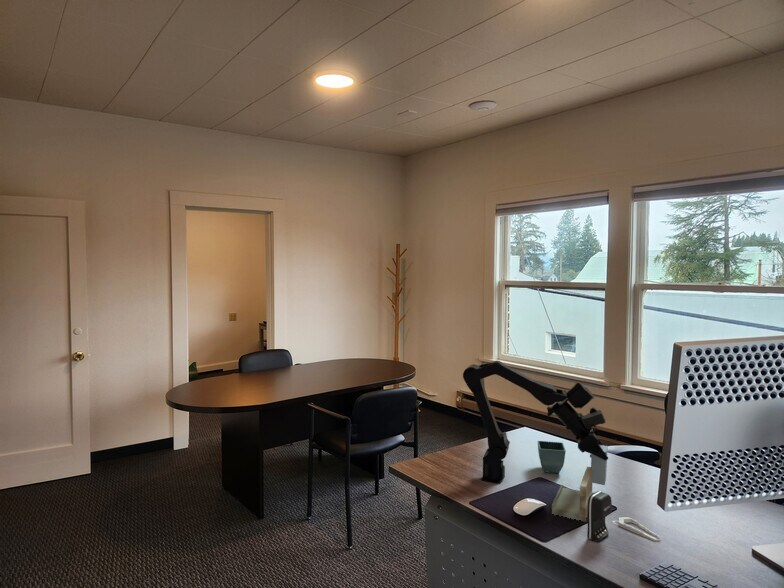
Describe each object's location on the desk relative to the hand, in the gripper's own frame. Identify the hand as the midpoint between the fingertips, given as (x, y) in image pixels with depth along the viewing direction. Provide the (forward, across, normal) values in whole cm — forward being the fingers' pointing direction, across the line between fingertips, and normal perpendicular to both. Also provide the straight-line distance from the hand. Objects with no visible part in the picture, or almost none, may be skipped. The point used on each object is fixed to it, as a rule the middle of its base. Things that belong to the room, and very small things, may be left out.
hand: (606, 455), depth 158 cm
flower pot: (-3, +14, +21) cm, 26 cm away
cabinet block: (+4, 0, +7) cm, 8 cm away
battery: (+7, -29, +11) cm, 32 cm away
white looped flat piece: (+14, -21, +4) cm, 26 cm away
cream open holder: (+2, -13, +16) cm, 20 cm away
